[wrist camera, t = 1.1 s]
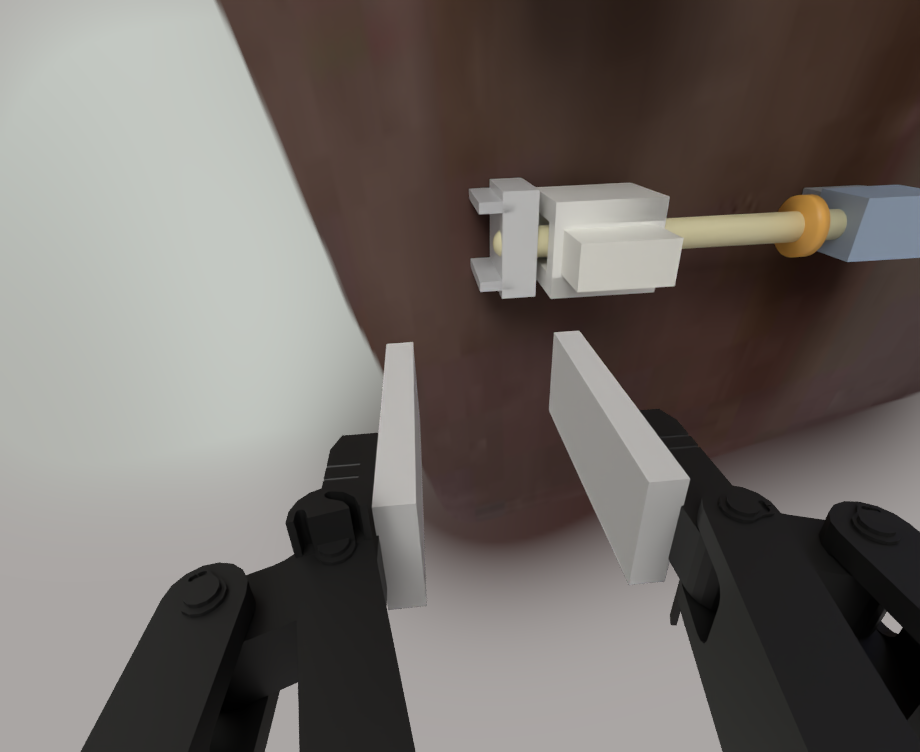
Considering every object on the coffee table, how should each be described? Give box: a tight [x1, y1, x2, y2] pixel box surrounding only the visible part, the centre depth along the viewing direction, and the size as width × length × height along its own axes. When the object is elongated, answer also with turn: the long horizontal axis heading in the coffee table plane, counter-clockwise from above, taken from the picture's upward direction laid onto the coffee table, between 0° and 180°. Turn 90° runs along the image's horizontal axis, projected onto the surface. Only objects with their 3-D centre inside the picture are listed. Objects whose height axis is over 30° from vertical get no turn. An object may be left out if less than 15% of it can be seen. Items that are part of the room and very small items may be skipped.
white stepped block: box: [536, 183, 684, 299], centre depth 28 cm, size 5×6×8 cm
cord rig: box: [469, 178, 920, 299], centre depth 30 cm, size 6×27×6 cm, turn 92°
